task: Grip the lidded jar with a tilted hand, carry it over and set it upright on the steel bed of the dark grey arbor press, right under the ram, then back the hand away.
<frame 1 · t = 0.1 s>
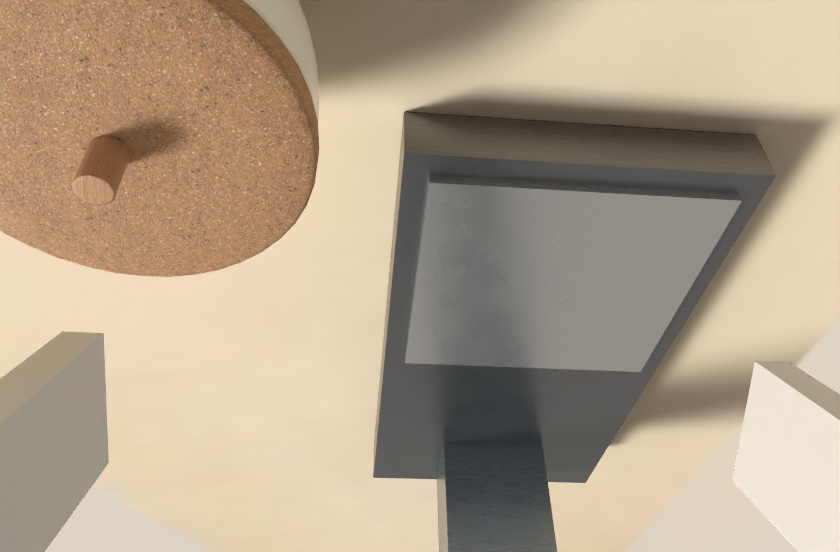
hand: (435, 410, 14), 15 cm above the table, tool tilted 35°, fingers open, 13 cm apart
arbor press: (543, 245, 33), on the table
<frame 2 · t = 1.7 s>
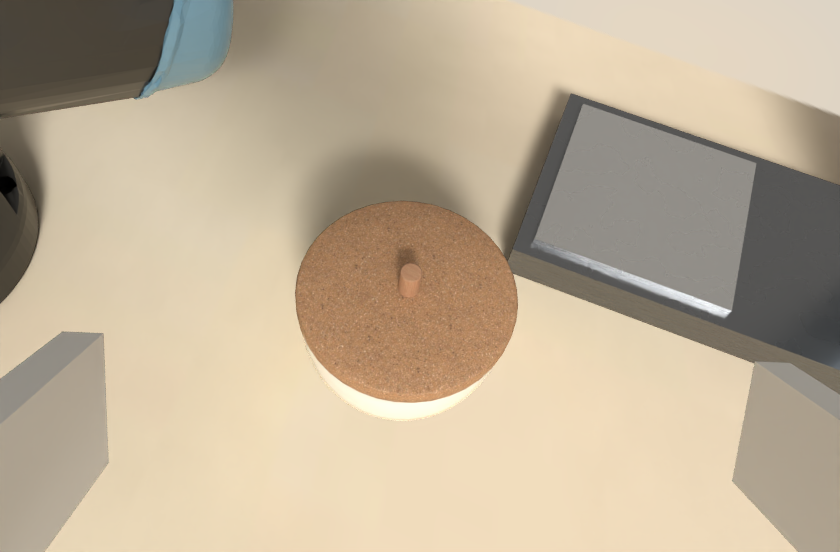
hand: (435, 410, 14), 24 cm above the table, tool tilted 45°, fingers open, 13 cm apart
arbor press: (635, 224, 47), on the table
lidded jar: (396, 357, 41), on the table
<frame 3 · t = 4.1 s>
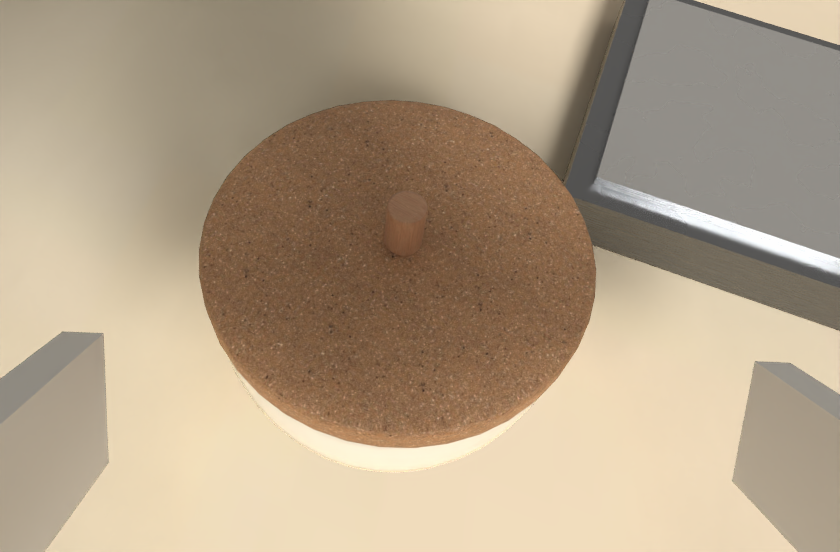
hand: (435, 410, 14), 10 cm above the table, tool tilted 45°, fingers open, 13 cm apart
arbor press: (733, 163, 33), on the table
lidded jar: (386, 363, 26), on the table
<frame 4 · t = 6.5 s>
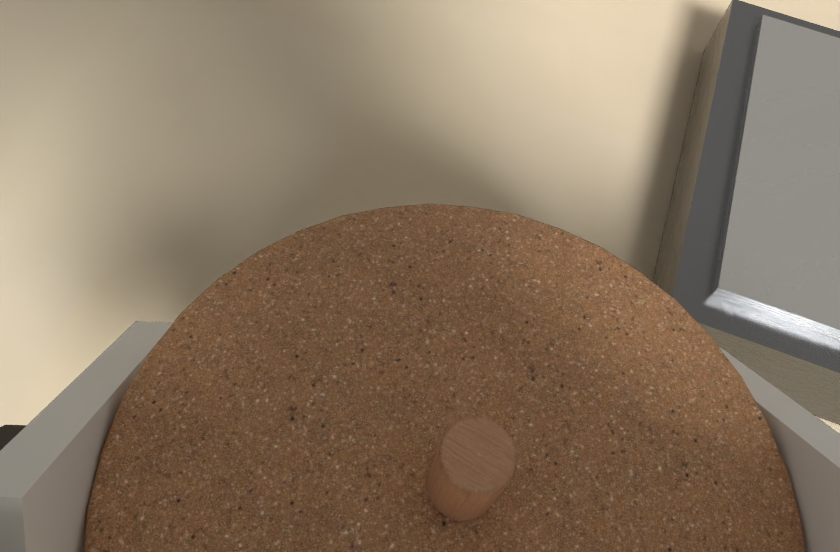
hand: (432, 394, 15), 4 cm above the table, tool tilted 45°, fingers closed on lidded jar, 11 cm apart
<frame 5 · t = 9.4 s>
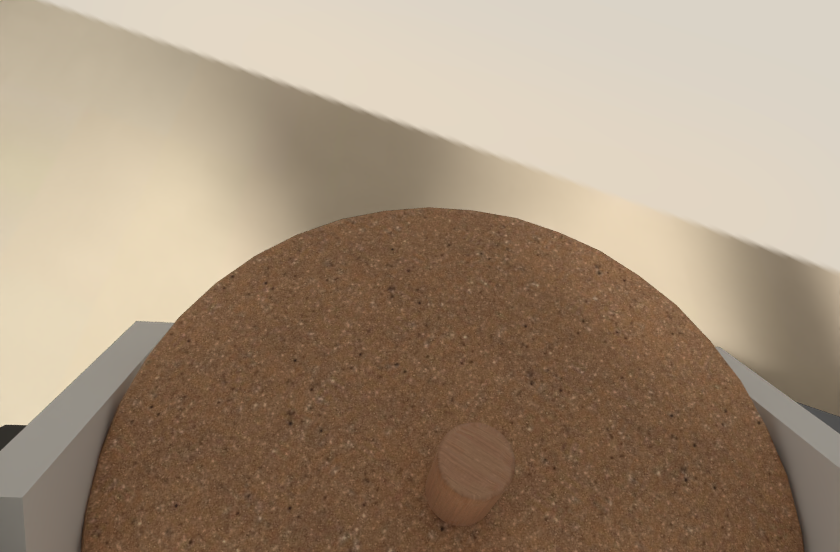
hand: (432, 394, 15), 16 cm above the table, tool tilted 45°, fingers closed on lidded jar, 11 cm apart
arbor press: (480, 474, 31), on the table
when the fingers open (8 cm above the table, at t = 12.4 s): lidded jar drops 1 cm, resting on arbor press.
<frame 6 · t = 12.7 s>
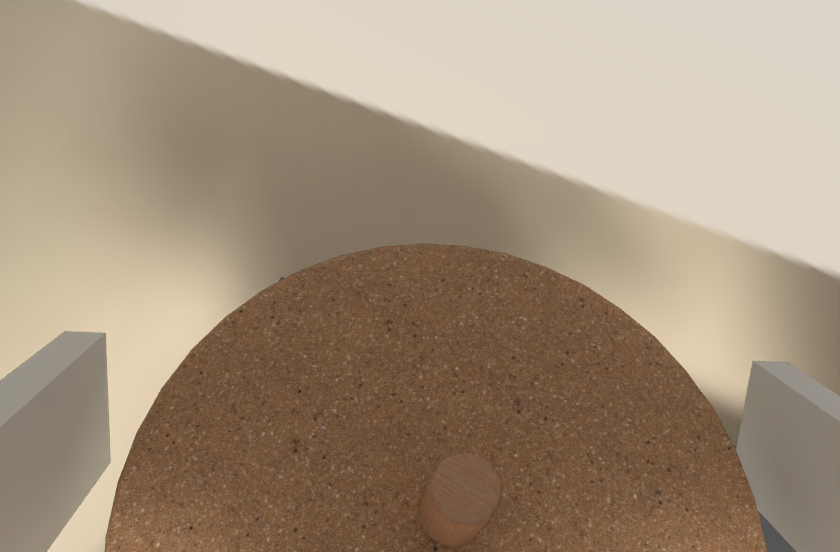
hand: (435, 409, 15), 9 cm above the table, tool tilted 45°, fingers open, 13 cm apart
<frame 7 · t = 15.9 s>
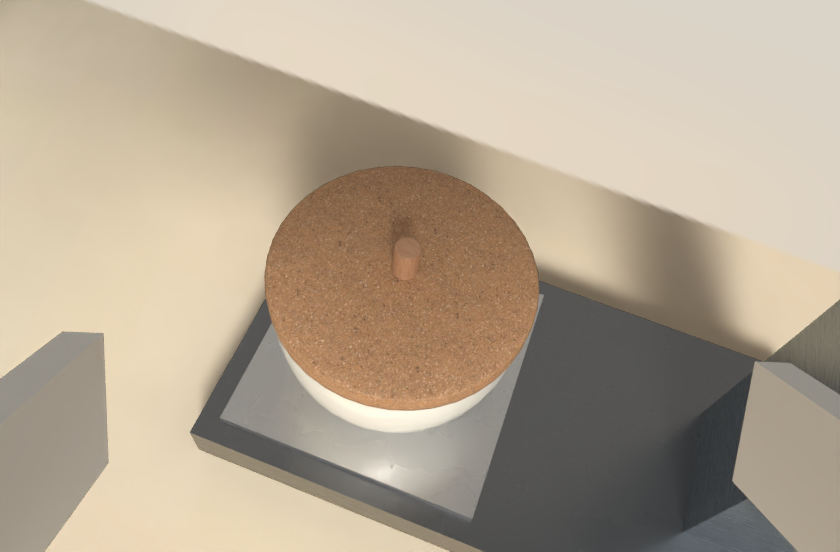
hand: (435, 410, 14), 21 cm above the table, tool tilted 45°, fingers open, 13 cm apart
arbor press: (389, 375, 37), on the table
lidded jar: (392, 356, 35), point 3 cm above the table, touching arbor press
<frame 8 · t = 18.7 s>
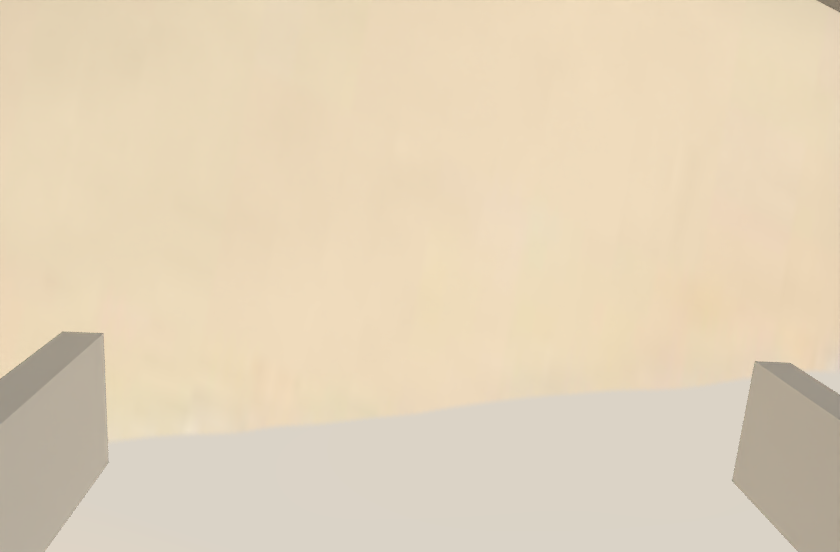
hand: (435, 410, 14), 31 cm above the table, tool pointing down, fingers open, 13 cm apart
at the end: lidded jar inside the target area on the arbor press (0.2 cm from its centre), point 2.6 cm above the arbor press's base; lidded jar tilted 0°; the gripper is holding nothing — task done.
